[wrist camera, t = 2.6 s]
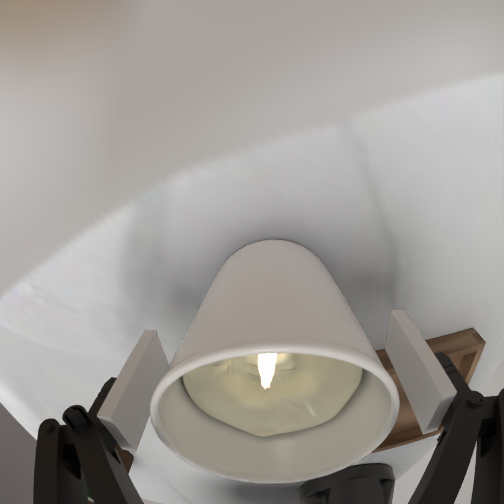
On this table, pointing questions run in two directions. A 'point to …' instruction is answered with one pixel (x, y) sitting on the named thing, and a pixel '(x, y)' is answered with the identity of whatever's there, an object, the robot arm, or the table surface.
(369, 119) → the table surface
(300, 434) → the candle holder
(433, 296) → the table surface
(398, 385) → the tray
